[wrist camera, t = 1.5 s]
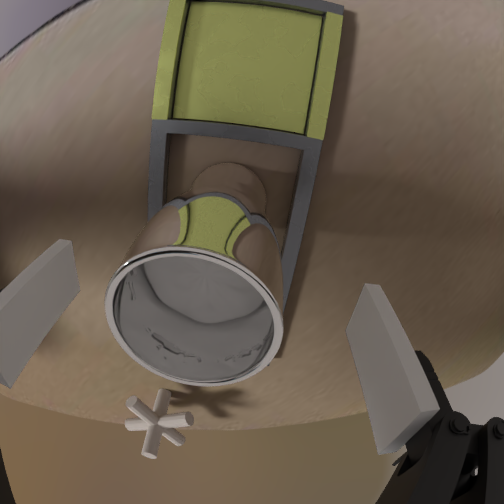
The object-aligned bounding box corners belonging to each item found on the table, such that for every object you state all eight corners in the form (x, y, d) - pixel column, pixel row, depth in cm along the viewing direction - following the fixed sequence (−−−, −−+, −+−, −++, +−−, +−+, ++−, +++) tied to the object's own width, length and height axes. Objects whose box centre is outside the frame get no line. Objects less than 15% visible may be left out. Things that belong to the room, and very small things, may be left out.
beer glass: (195, 244, 25) (140, 389, 12) (176, 165, 22) (70, 257, 9) (277, 233, 25) (295, 383, 11) (265, 149, 21) (278, 224, 8)
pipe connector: (173, 362, 32) (153, 434, 23) (215, 406, 36) (207, 470, 27) (115, 375, 34) (92, 435, 25) (158, 414, 38) (145, 470, 30)
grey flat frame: (157, 342, 31) (154, 351, 29) (177, -9, 15) (173, -15, 14) (268, 357, 31) (268, 367, 30) (339, 10, 16) (344, 5, 15)
